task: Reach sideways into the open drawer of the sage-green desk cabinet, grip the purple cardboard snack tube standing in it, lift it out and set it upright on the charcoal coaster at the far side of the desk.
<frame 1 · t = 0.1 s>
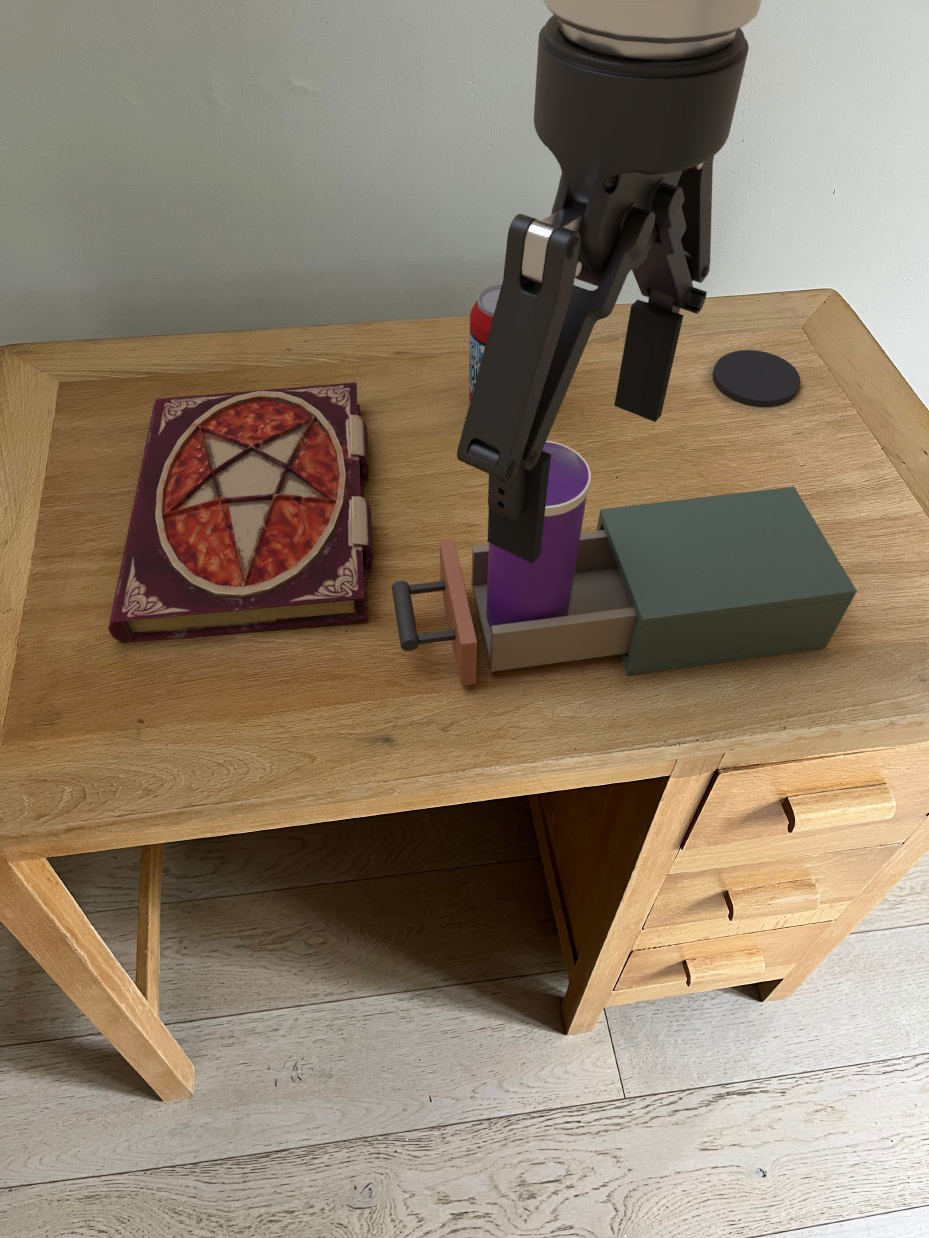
hand: (580, 475, 47), 24 cm above the table, tool pointing down, fingers open, 13 cm apart
coaster: (755, 380, 92), on the table
snack tube: (526, 614, 69), point 2 cm above the table, touching drawer
cabinet: (703, 606, 72), on the table
drawer: (520, 603, 67), point 4 cm above the table, slide at 12.0 cm, touching snack tube
book: (256, 513, 79), on the table
beverage can: (501, 406, 89), on the table
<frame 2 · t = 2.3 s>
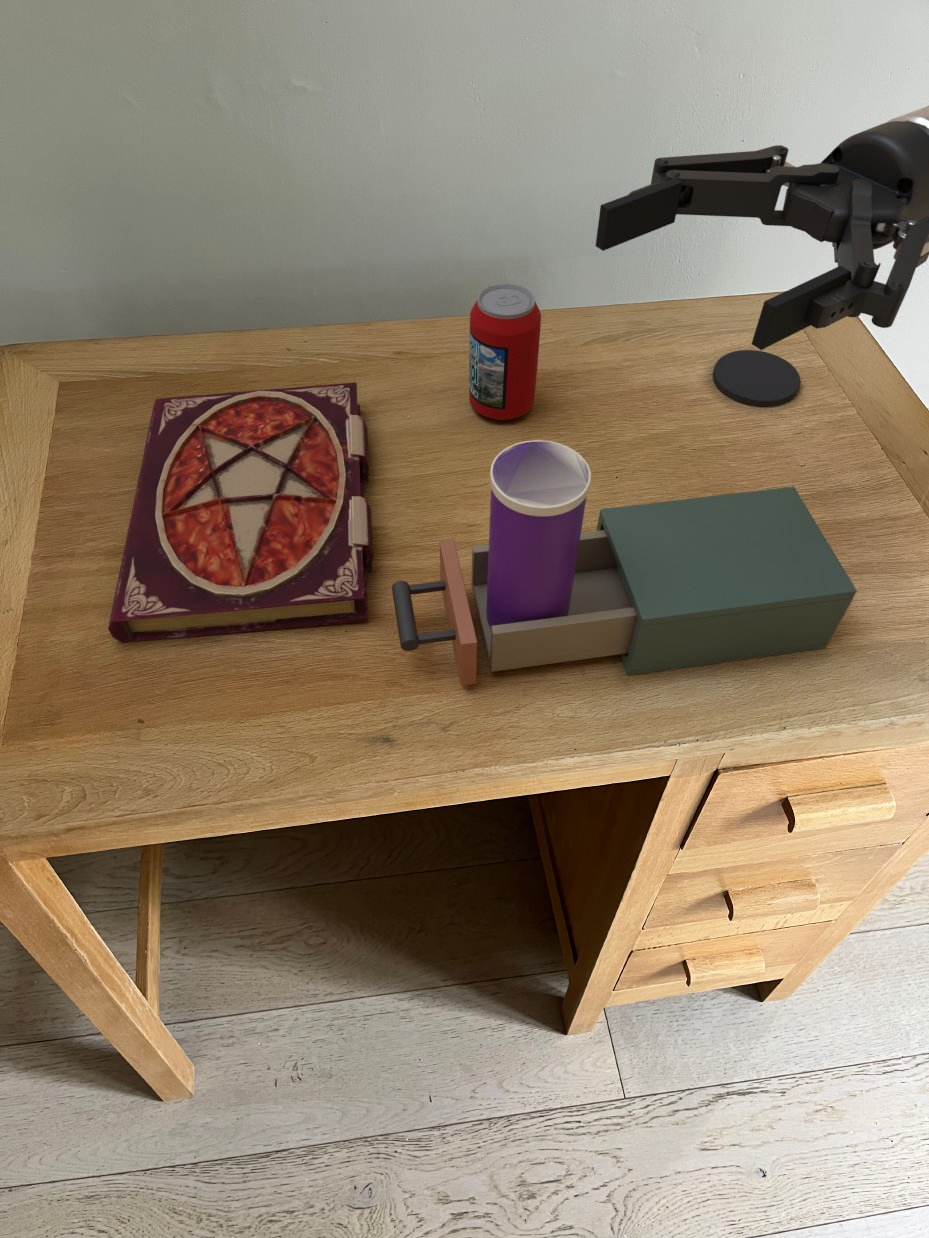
hand: (676, 274, 52), 28 cm above the table, tool horizontal, fingers open, 13 cm apart
nothing on the table moved.
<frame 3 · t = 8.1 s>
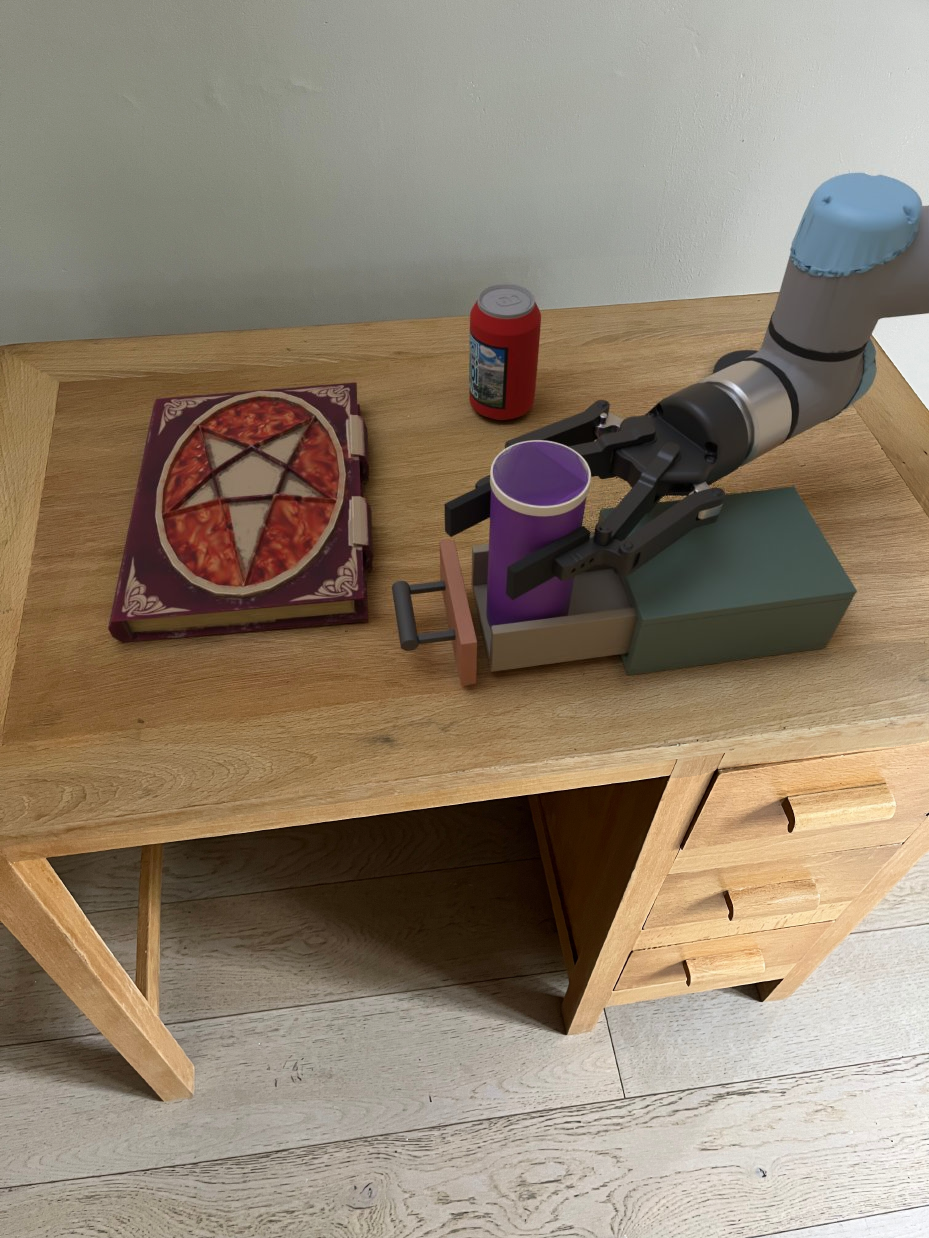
hand: (478, 551, 59), 13 cm above the table, tool horizontal, fingers closed on snack tube, 6 cm apart
snack tube: (526, 614, 69), point 2 cm above the table, touching drawer, gripper
everything else where it was.
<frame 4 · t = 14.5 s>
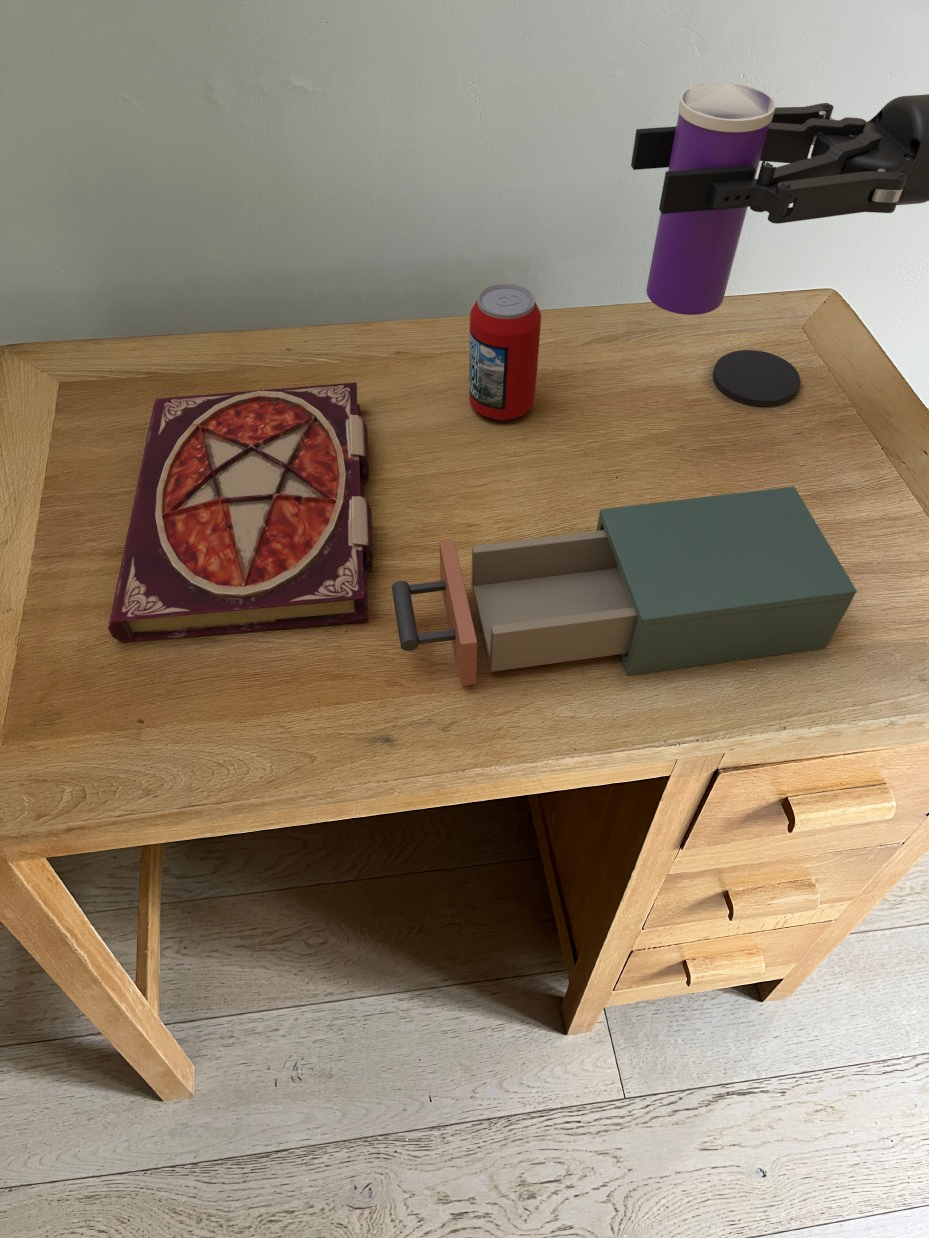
hand: (649, 170, 64), 26 cm above the table, tool horizontal, fingers closed on snack tube, 6 cm apart
snack tube: (684, 293, 73), point 16 cm above the table, touching gripper
drawer: (520, 603, 67), point 4 cm above the table, slide at 12.0 cm
everything else where it was.
when the fingers open (11 cm above the table, at t = 21.2 s): snack tube stays where it is, resting on coaster.
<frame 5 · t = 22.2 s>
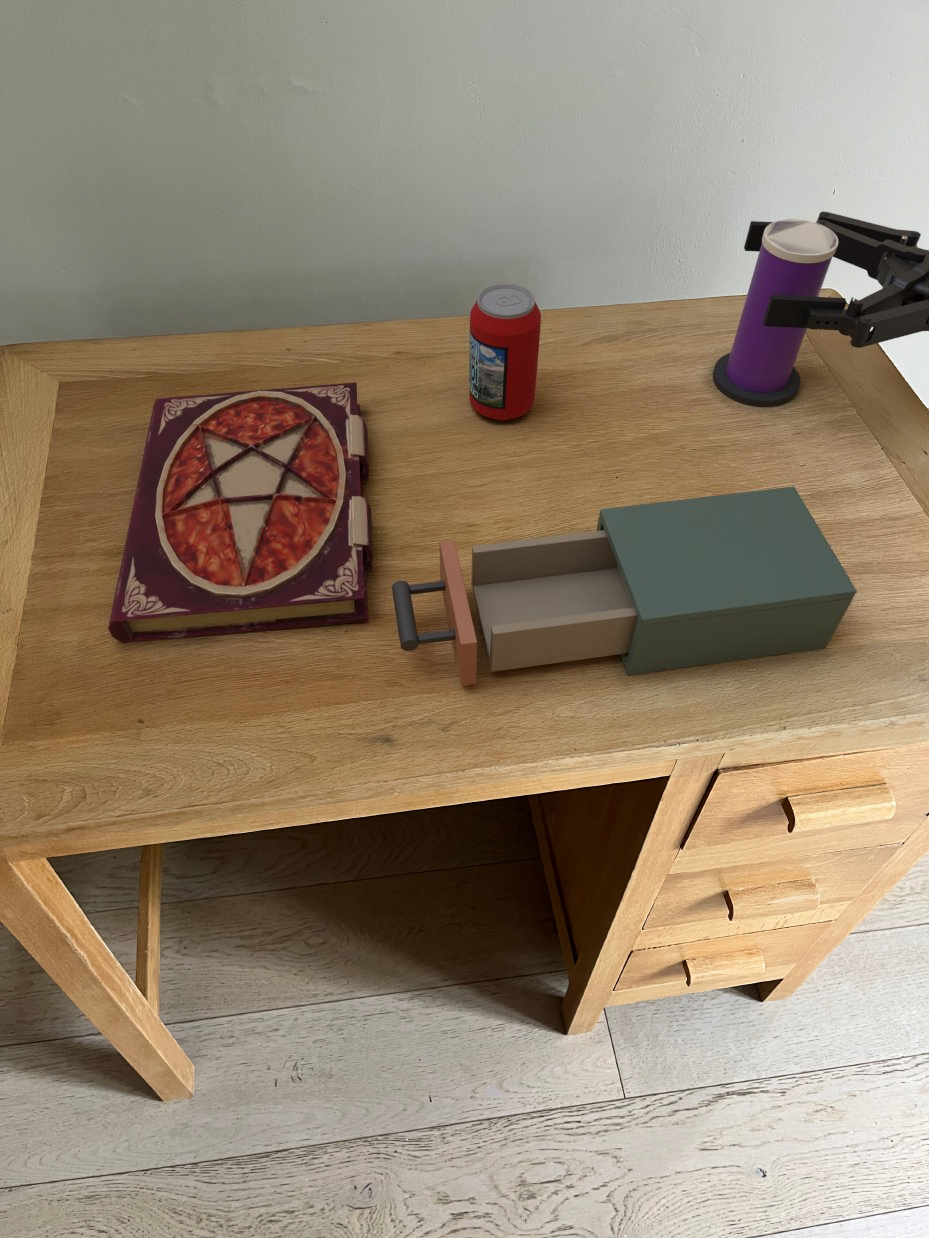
hand: (756, 271, 82), 12 cm above the table, tool horizontal, fingers open, 13 cm apart
snack tube: (757, 374, 91), point 1 cm above the table, touching coaster
everything else where it was.
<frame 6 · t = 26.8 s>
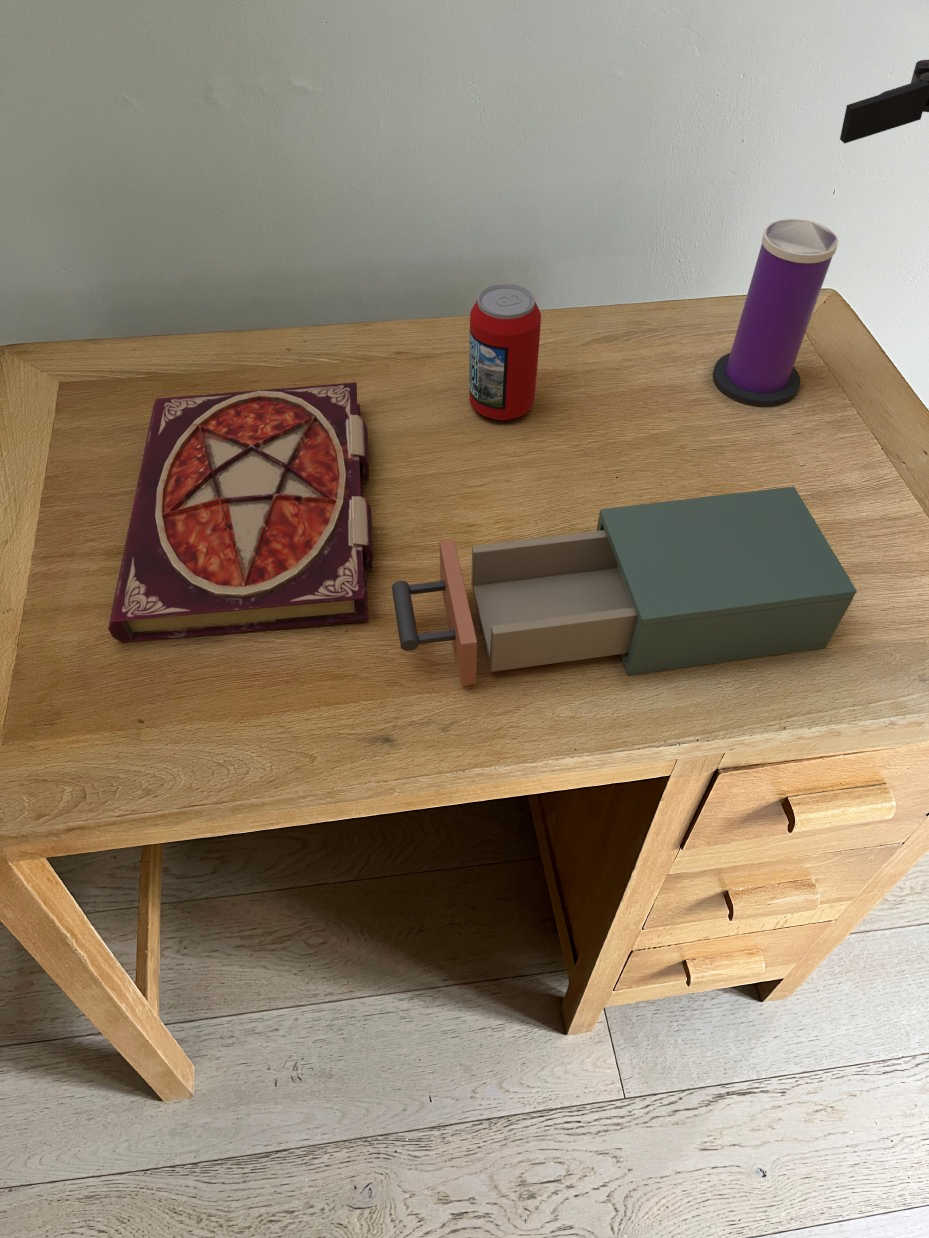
hand: (890, 168, 65), 26 cm above the table, tool horizontal, fingers open, 13 cm apart
nothing on the table moved.
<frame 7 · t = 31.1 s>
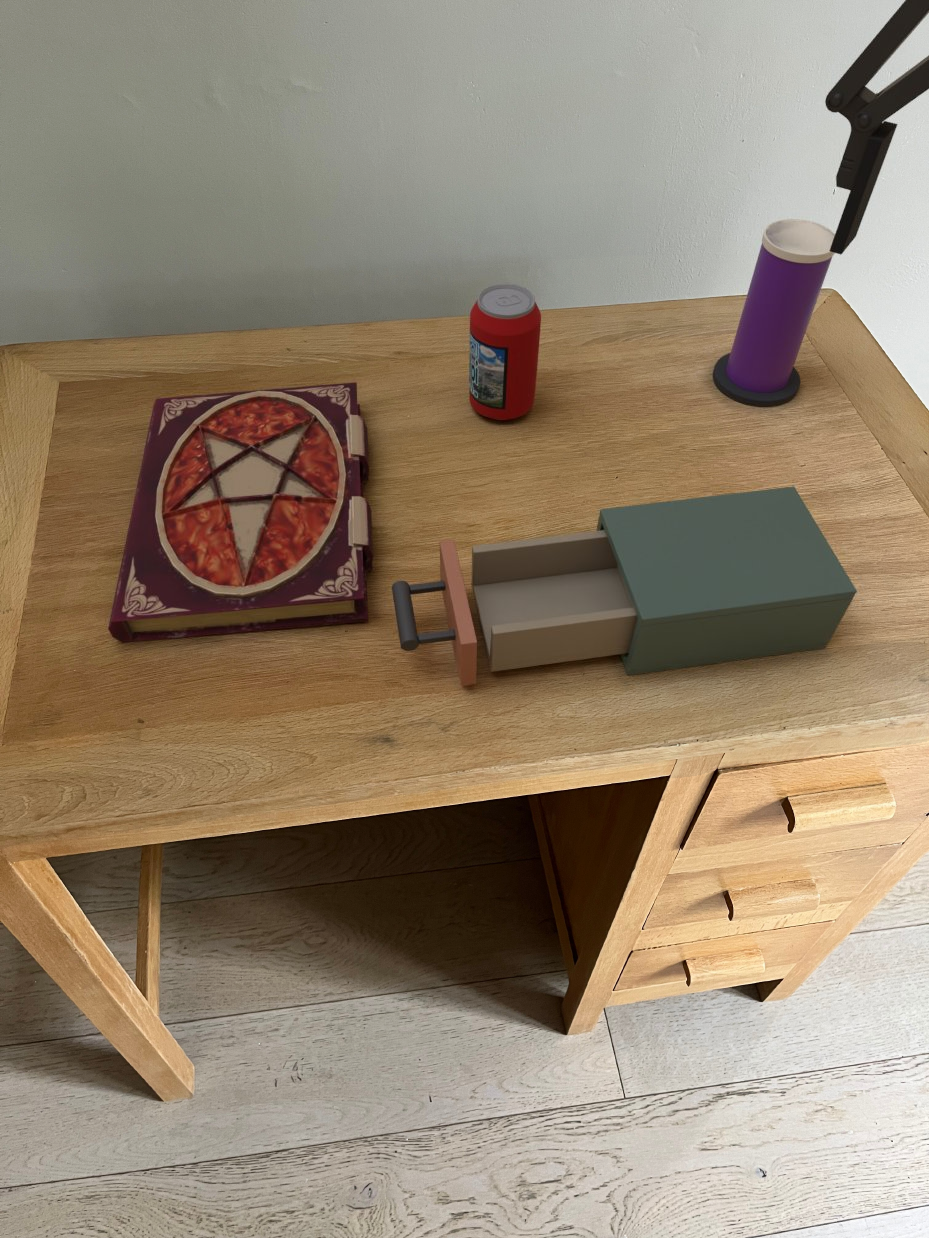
nothing on the table moved.
at the end: snack tube 0.0 cm off-centre on the coaster, point 0.8 cm above the coaster's base; snack tube tilted 0°; the gripper is holding nothing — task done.
